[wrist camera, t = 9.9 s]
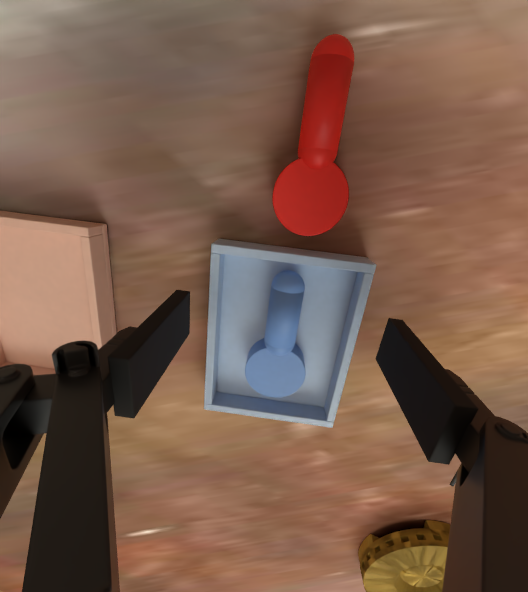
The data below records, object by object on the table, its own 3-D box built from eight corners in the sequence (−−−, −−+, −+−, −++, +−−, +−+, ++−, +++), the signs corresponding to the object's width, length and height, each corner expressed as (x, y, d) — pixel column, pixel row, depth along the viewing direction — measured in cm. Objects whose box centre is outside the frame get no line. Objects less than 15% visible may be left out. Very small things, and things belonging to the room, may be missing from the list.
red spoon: (291, 42, 15) (293, 18, 13) (373, 51, 15) (388, 29, 13) (269, 228, 18) (267, 232, 16) (335, 236, 18) (341, 242, 16)
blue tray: (218, 238, 19) (211, 243, 17) (367, 257, 19) (376, 264, 17) (210, 392, 24) (203, 409, 22) (328, 409, 23) (332, 428, 21)
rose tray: (-36, 205, 19) (-70, 207, 17) (107, 224, 19) (87, 227, 17) (7, 363, 24) (-17, 378, 22) (121, 379, 24) (107, 395, 22)
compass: (339, 536, 29) (344, 562, 27) (455, 507, 26) (470, 533, 24) (383, 595, 33) (389, 622, 31) (490, 574, 30) (505, 602, 28)
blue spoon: (257, 262, 19) (254, 271, 17) (322, 270, 19) (327, 280, 17) (245, 379, 22) (241, 399, 20) (299, 387, 22) (300, 407, 20)
